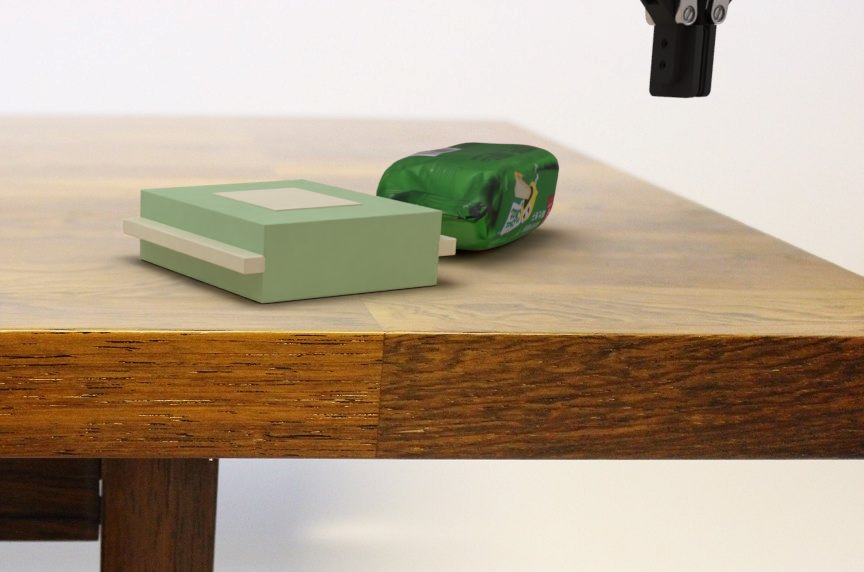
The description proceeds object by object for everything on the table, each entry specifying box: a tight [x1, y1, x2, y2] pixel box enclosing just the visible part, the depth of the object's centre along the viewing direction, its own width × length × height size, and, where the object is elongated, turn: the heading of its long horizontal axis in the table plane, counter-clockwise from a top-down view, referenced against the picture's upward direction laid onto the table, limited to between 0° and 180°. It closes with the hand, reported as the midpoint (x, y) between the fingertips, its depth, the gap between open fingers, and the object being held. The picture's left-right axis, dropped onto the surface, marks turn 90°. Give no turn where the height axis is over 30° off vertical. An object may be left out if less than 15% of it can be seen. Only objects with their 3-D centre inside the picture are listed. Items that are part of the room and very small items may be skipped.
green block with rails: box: [122, 178, 457, 304], centre depth 74 cm, size 12×12×4 cm
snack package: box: [375, 141, 560, 251], centre depth 82 cm, size 7×16×5 cm, turn 149°
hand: (679, 95), depth 87 cm, fingers closed
